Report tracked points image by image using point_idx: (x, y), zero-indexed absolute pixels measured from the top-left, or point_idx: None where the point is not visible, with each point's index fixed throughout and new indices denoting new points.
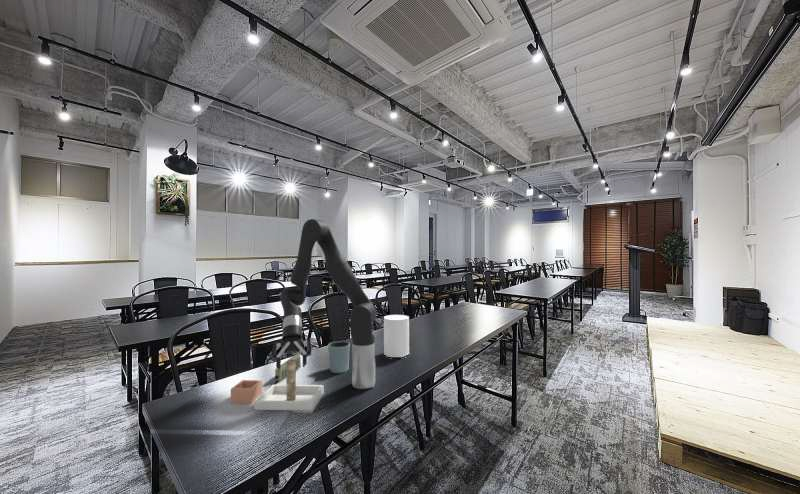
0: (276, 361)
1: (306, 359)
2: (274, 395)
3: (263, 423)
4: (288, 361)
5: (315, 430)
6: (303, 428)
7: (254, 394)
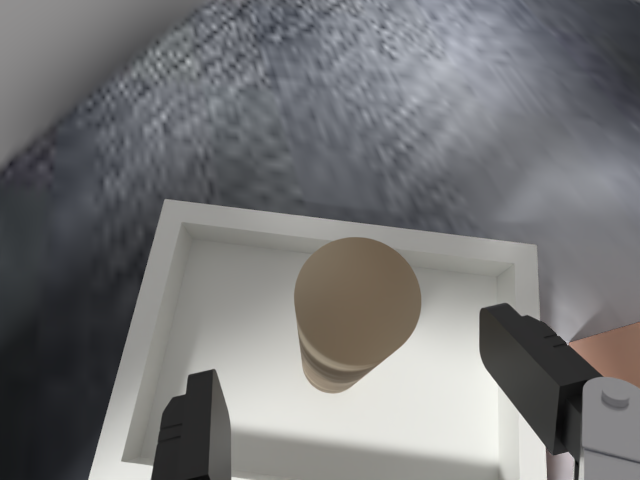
0: (581, 358)
1: (158, 444)
2: (475, 448)
3: (409, 159)
4: (391, 289)
5: (152, 86)
6: (208, 104)
7: (605, 375)
